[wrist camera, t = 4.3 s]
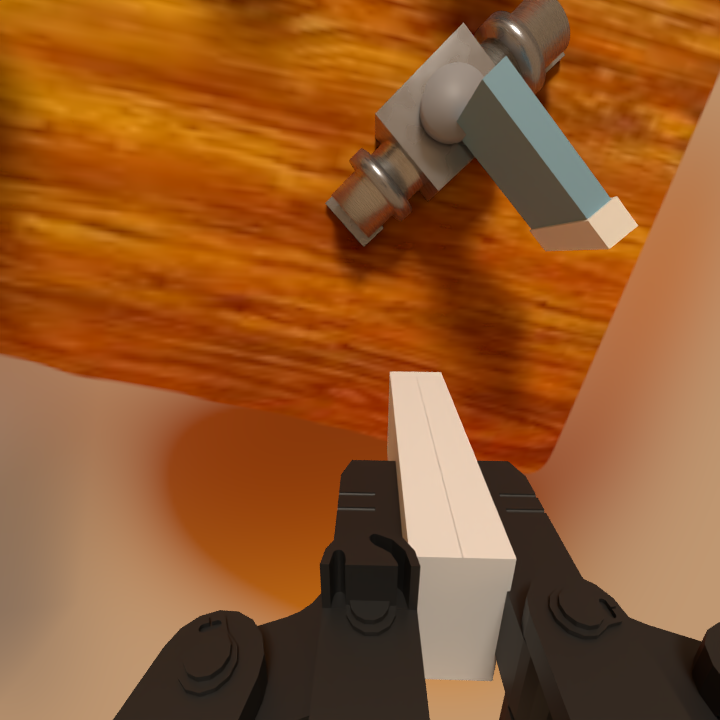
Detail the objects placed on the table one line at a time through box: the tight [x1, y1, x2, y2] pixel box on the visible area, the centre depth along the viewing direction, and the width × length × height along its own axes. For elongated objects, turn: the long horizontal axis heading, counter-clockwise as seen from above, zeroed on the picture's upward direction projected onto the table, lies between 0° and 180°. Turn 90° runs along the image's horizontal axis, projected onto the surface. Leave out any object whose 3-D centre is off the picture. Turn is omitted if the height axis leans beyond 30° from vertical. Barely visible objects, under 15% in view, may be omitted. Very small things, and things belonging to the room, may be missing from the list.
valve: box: [326, 0, 570, 247], centre depth 31 cm, size 22×7×7 cm, turn 133°
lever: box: [420, 56, 638, 251], centre depth 25 cm, size 14×4×8 cm, turn 43°
